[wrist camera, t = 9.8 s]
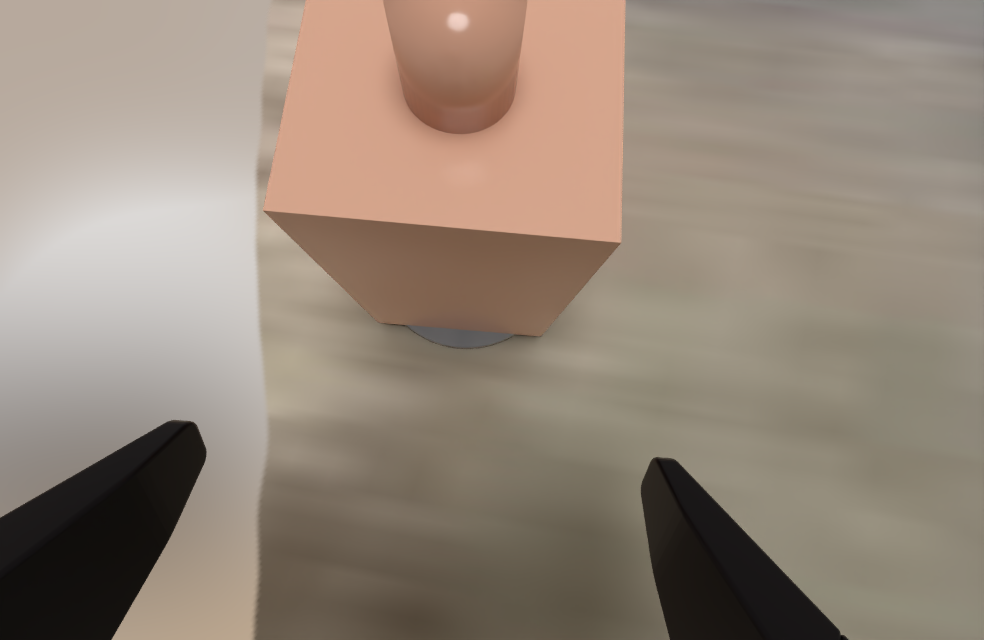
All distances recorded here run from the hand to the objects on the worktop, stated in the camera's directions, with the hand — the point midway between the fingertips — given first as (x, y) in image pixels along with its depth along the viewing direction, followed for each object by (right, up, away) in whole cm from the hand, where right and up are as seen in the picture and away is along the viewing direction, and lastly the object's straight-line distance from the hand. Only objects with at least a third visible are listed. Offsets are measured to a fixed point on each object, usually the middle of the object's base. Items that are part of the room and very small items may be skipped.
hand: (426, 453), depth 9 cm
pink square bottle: (0, +5, +11) cm, 12 cm away
